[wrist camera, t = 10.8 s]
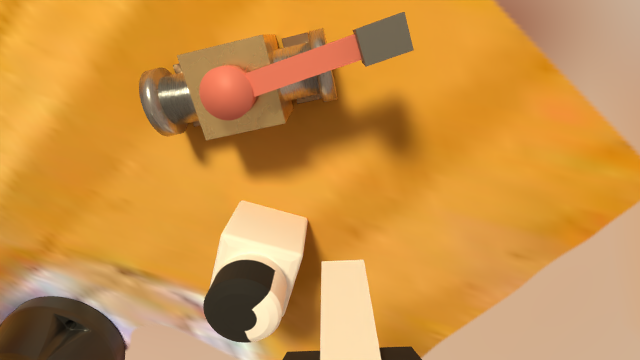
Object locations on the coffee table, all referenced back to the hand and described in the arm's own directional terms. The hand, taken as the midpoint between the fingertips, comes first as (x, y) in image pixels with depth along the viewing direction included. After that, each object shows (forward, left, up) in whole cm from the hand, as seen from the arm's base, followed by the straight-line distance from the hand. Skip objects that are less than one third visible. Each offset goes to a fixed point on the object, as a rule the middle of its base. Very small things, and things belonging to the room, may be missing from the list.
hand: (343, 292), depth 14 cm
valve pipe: (-7, +6, -26) cm, 27 cm away
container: (-10, -11, -26) cm, 30 cm away
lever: (-2, +7, -19) cm, 20 cm away
